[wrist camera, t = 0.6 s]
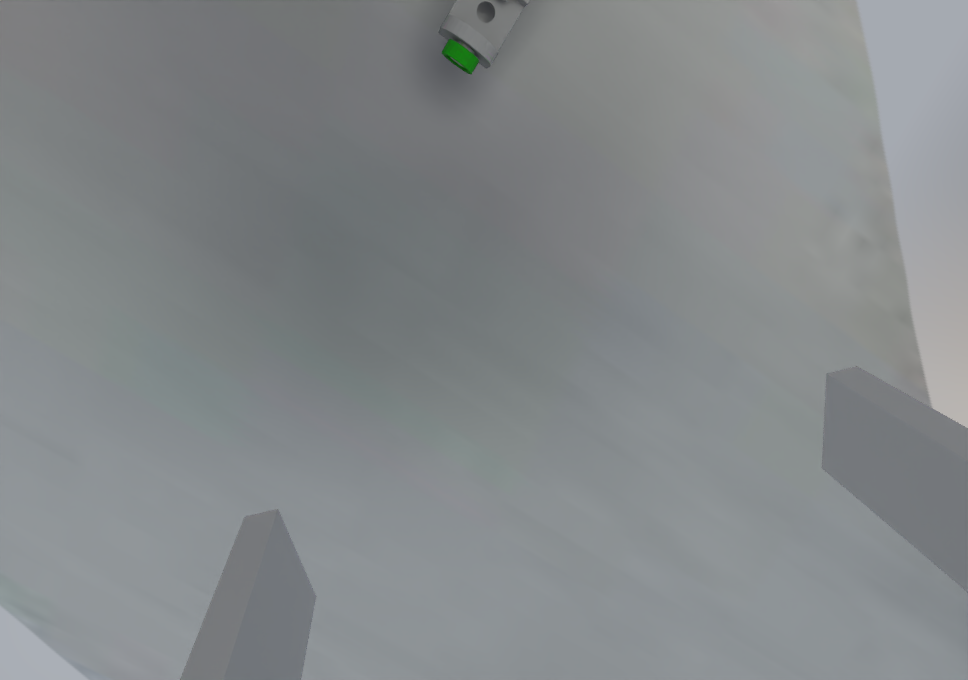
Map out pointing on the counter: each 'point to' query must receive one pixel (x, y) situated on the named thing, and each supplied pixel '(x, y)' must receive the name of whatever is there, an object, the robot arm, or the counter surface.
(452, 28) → the mechanical component
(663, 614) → the counter surface
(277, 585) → the robot arm
